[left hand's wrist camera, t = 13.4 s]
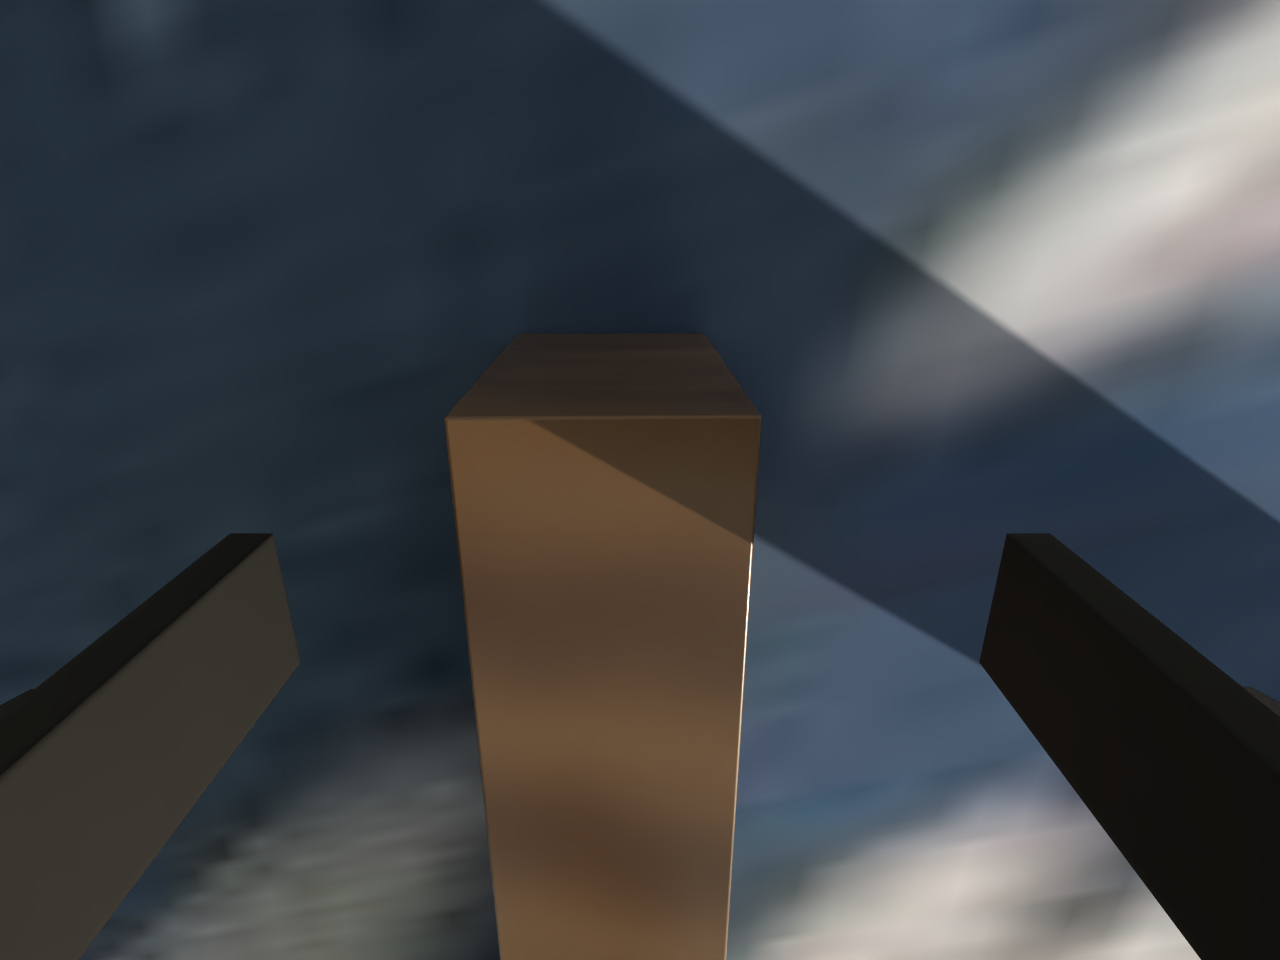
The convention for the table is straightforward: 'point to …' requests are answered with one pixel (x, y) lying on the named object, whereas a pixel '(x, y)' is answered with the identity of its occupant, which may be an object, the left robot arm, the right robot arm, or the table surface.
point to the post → (607, 636)
